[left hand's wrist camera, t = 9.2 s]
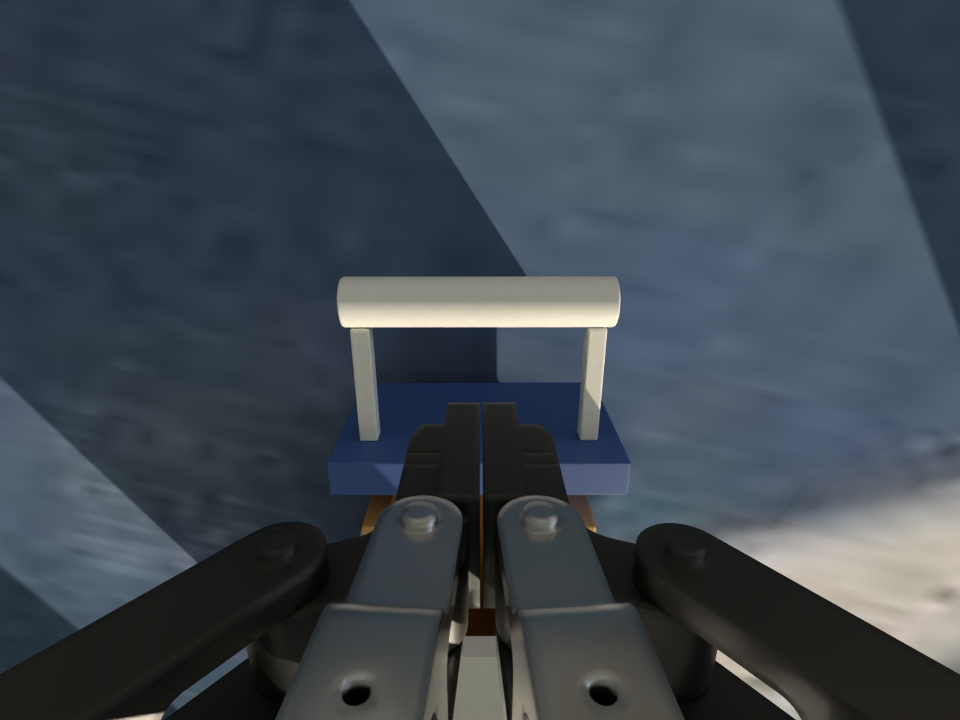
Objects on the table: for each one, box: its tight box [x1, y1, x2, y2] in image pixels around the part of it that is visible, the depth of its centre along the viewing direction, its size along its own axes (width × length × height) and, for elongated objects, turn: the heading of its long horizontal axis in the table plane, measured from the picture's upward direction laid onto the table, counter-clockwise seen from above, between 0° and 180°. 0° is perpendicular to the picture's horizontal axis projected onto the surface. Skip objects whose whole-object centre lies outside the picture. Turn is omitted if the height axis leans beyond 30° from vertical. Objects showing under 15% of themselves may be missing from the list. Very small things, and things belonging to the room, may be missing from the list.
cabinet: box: [360, 512, 597, 720], centre depth 26 cm, size 16×11×8 cm, turn 0°
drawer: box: [327, 276, 631, 636], centre depth 22 cm, size 21×10×6 cm, turn 0°
